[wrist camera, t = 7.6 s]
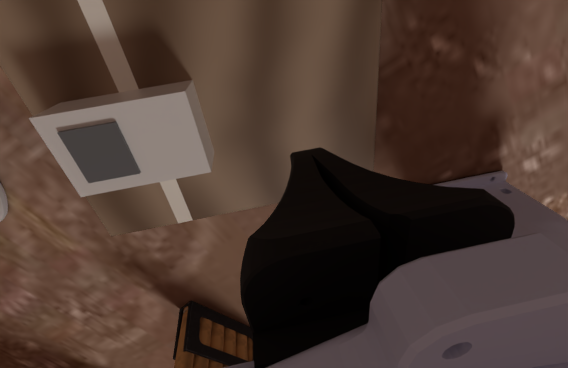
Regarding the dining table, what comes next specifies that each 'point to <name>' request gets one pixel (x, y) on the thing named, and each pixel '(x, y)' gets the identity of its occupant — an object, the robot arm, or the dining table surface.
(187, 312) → the ammunition clip
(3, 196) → the eye dropper bottle
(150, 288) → the dining table surface
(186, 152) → the block
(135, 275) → the dining table surface
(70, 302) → the dining table surface
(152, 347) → the dining table surface
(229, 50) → the subfloor panel
